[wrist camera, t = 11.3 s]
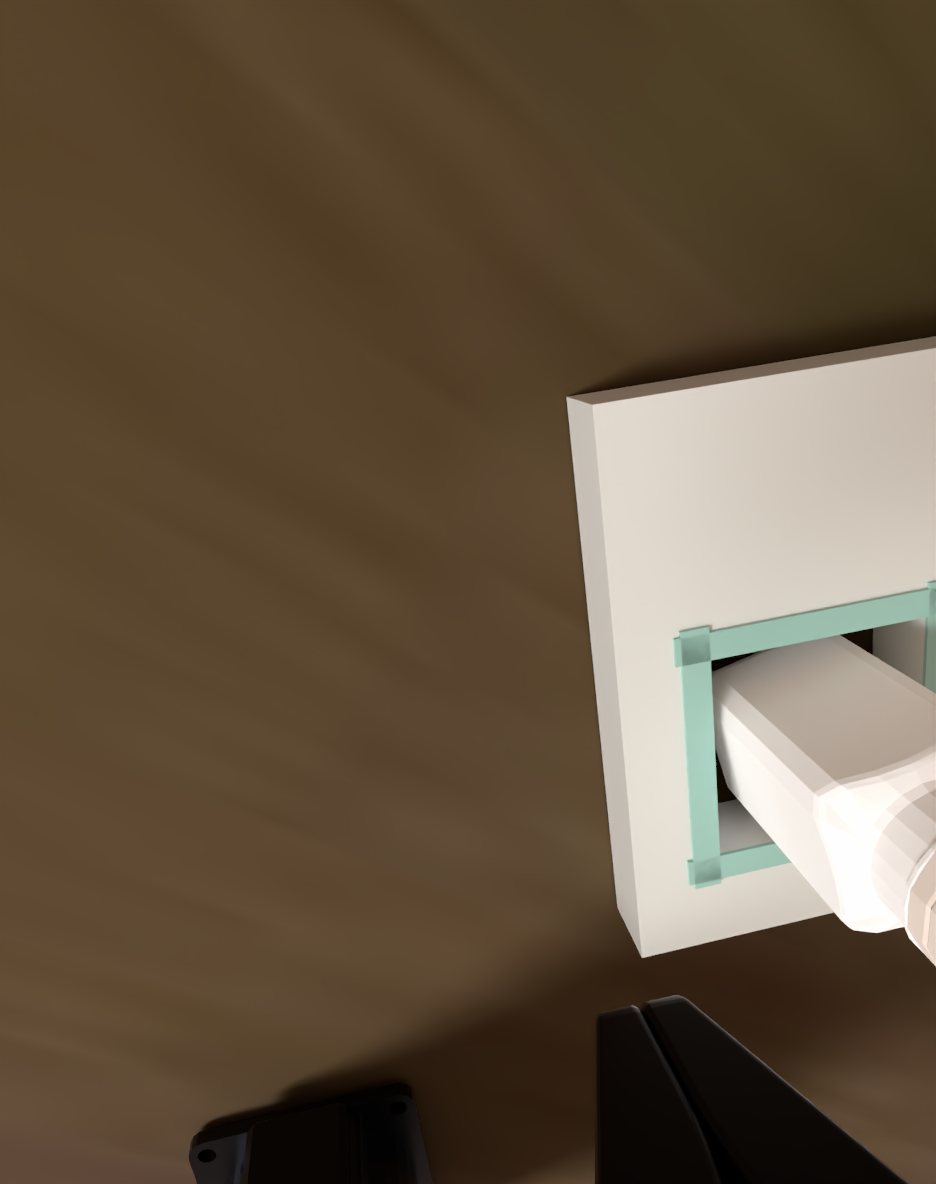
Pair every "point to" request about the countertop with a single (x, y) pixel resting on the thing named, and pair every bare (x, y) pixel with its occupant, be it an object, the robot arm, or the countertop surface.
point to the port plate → (741, 595)
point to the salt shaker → (838, 776)
